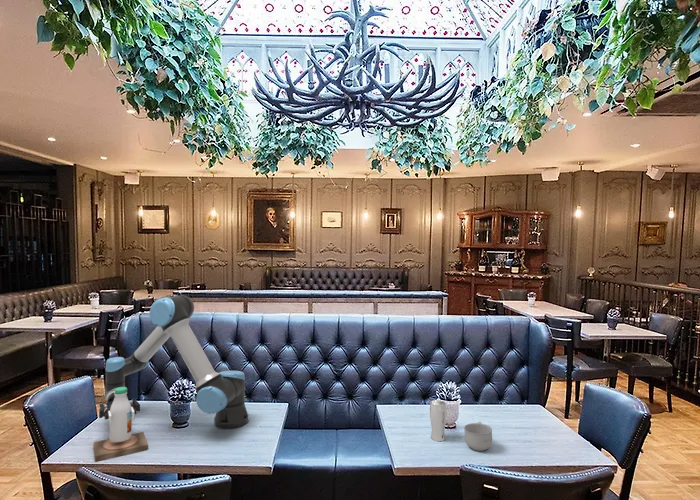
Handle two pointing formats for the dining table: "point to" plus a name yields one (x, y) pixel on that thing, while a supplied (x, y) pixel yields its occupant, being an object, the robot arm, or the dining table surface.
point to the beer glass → (438, 419)
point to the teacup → (478, 436)
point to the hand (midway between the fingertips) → (122, 417)
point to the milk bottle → (120, 416)
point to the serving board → (120, 447)
